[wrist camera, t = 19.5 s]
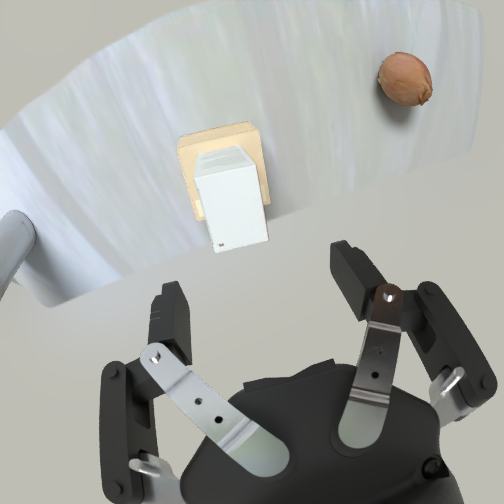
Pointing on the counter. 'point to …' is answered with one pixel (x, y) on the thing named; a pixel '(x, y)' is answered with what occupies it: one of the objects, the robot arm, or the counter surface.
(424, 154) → the counter surface
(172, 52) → the counter surface
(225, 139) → the lid
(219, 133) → the carton
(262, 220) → the small box
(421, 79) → the onion
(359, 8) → the counter surface
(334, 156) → the counter surface
